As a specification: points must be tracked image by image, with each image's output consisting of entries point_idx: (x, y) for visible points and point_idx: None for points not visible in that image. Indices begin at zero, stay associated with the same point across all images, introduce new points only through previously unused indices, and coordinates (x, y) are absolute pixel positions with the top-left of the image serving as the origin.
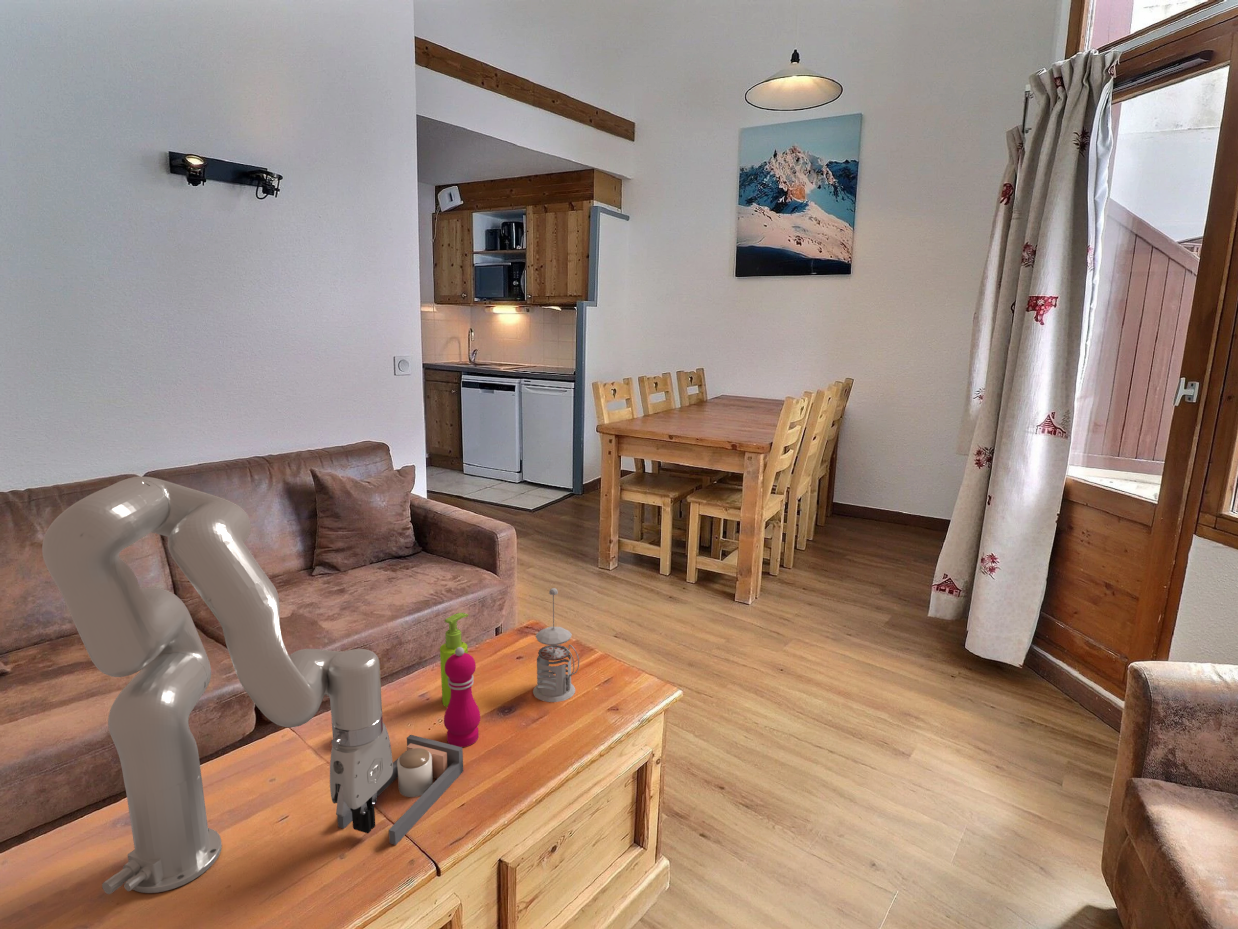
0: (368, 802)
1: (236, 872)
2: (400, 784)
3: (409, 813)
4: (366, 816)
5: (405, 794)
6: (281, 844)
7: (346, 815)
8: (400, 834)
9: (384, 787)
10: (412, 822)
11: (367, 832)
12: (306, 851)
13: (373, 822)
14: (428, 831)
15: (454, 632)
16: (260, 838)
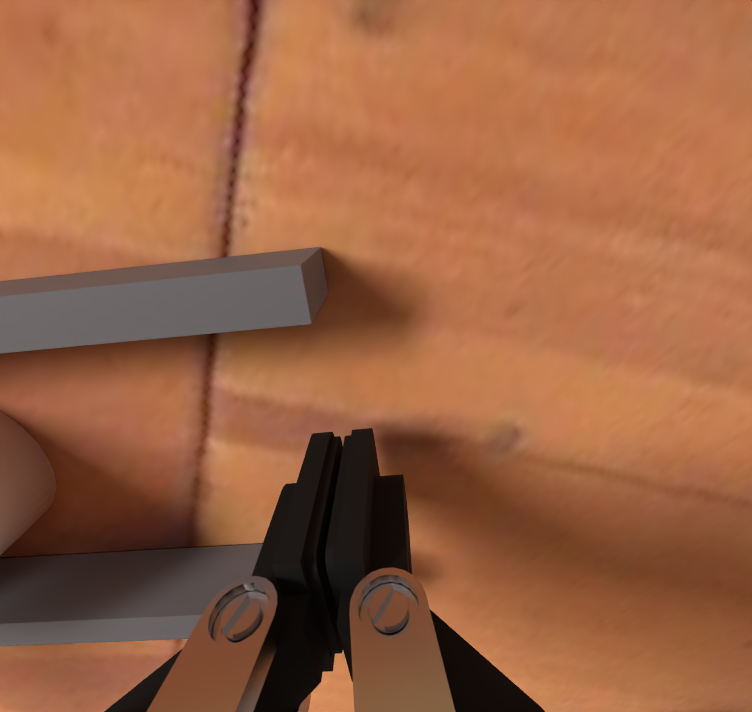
0: (290, 640)
1: (686, 662)
2: (3, 530)
3: (94, 307)
4: (368, 532)
5: (36, 465)
6: (530, 642)
7: None
8: (258, 259)
9: (90, 565)
10: (133, 270)
11: (373, 437)
12: (532, 566)
13: (320, 457)
14: (104, 129)
15: None
16: (528, 694)
